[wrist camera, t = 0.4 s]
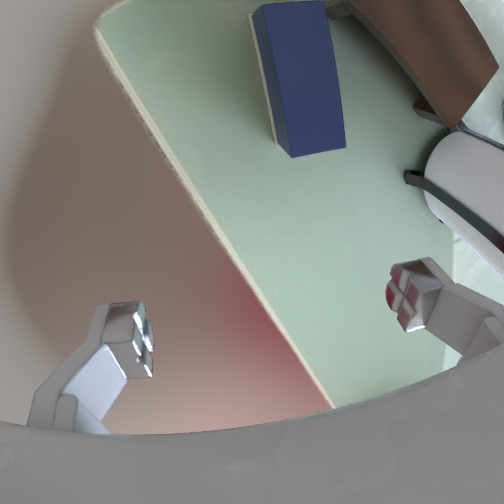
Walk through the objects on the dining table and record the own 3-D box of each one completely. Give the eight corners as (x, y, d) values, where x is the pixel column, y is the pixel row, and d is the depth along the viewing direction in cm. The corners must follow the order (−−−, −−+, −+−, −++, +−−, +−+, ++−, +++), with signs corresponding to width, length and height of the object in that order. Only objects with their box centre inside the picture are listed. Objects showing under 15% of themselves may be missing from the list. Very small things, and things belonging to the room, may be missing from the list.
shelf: (380, -44, 18) (412, -57, 13) (464, 60, 25) (499, 67, 20) (320, 10, 22) (347, -1, 17) (418, 116, 29) (453, 129, 24)
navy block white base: (247, 15, 22) (259, 2, 17) (300, 9, 22) (324, -2, 17) (274, 143, 29) (290, 160, 24) (322, 133, 29) (347, 149, 24)
